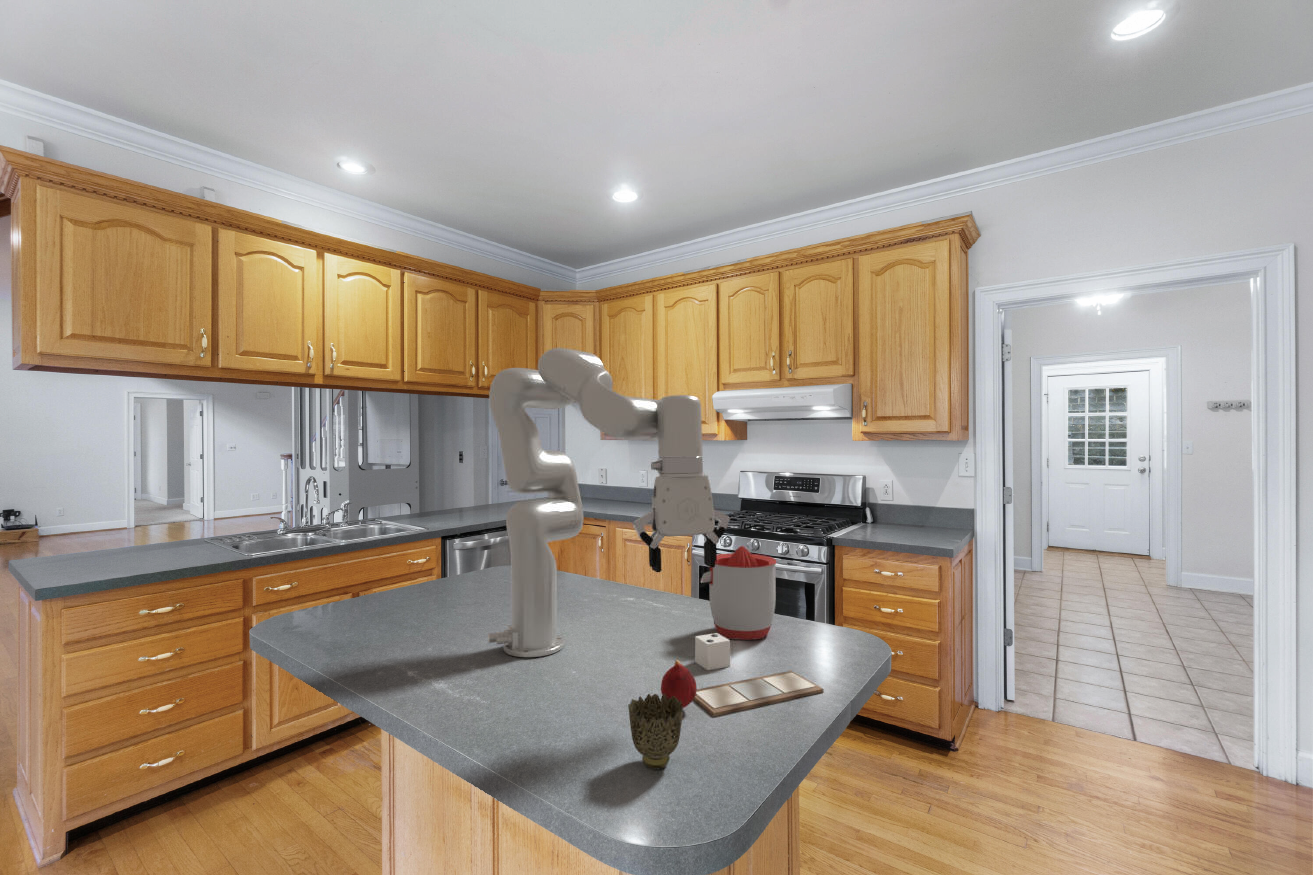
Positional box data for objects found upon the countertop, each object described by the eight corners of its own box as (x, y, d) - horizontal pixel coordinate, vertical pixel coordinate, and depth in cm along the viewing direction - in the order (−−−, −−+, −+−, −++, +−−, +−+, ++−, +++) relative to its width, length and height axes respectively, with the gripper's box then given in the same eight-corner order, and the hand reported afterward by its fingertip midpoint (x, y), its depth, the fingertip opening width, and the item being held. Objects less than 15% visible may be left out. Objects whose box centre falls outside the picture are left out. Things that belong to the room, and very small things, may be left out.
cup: (627, 750, 81) (627, 693, 81) (679, 748, 82) (679, 691, 82) (629, 781, 74) (629, 718, 74) (686, 778, 74) (686, 715, 75)
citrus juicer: (699, 622, 141) (699, 540, 141) (770, 622, 140) (770, 540, 141) (702, 644, 125) (702, 551, 125) (782, 644, 125) (782, 552, 125)
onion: (701, 706, 95) (701, 657, 95) (688, 721, 90) (688, 669, 90) (669, 699, 98) (669, 652, 98) (655, 713, 92) (655, 663, 93)
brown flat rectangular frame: (714, 716, 91) (714, 711, 91) (687, 694, 100) (687, 690, 100) (823, 692, 101) (823, 687, 101) (791, 673, 109) (791, 669, 109)
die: (707, 670, 110) (707, 643, 110) (695, 661, 115) (695, 635, 115) (730, 666, 112) (729, 639, 113) (717, 657, 117) (716, 632, 117)
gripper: (638, 469, 92) (640, 577, 92) (736, 466, 98) (739, 568, 97) (626, 469, 100) (628, 568, 99) (718, 466, 105) (721, 560, 104)
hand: (683, 568), depth 98 cm, fingers open, 9 cm apart
